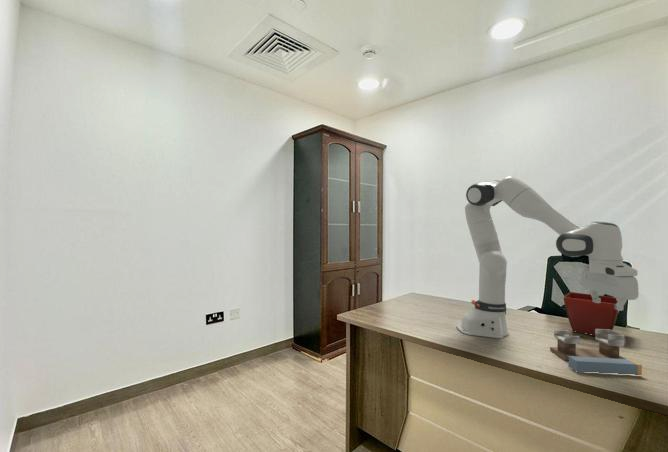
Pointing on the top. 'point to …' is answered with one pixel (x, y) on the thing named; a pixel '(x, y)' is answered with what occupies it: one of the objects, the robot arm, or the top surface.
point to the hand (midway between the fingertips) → (607, 306)
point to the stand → (607, 349)
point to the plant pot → (590, 312)
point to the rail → (605, 365)
